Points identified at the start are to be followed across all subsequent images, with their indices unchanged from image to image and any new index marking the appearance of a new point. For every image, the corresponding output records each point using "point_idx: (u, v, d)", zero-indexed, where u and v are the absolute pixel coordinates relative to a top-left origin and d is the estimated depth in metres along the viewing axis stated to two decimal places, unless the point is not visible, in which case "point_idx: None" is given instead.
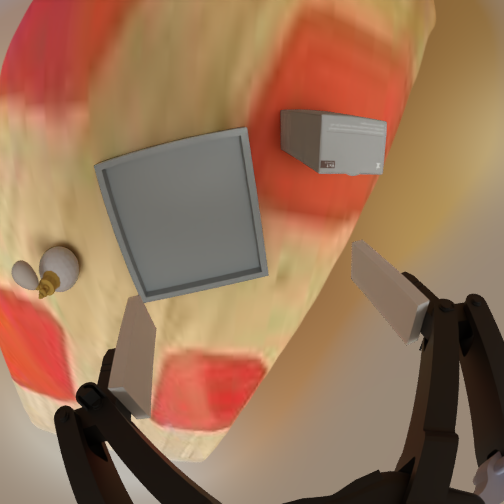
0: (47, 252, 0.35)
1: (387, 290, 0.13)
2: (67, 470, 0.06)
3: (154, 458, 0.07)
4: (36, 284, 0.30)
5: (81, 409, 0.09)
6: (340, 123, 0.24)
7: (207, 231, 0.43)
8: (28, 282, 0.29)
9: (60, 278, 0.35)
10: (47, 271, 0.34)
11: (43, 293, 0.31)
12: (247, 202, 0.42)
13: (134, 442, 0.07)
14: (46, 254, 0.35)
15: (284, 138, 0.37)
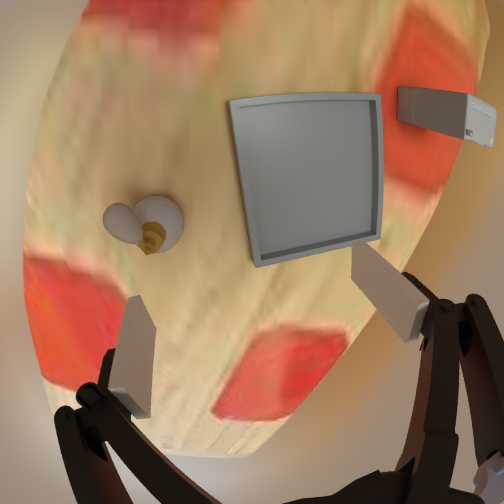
0: (145, 200, 0.32)
1: (387, 290, 0.13)
2: (67, 470, 0.06)
3: (154, 457, 0.07)
4: (141, 235, 0.28)
5: (81, 409, 0.09)
6: (476, 103, 0.22)
7: (333, 189, 0.40)
8: (132, 231, 0.26)
9: (167, 232, 0.32)
10: (150, 223, 0.31)
11: (150, 248, 0.28)
12: (370, 165, 0.39)
13: (134, 442, 0.07)
14: (145, 202, 0.32)
15: (405, 110, 0.34)
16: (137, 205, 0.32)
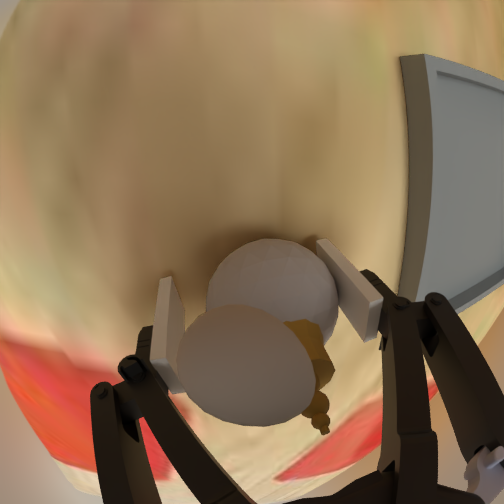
0: (261, 257, 0.13)
1: (345, 287, 0.14)
2: (95, 447, 0.07)
3: (187, 436, 0.07)
4: None
5: (119, 385, 0.10)
6: None
7: (494, 219, 0.21)
8: (304, 403, 0.07)
9: (324, 335, 0.13)
10: (293, 325, 0.12)
11: (326, 409, 0.09)
12: None
13: (170, 419, 0.08)
14: (262, 264, 0.13)
15: None
16: (237, 270, 0.13)
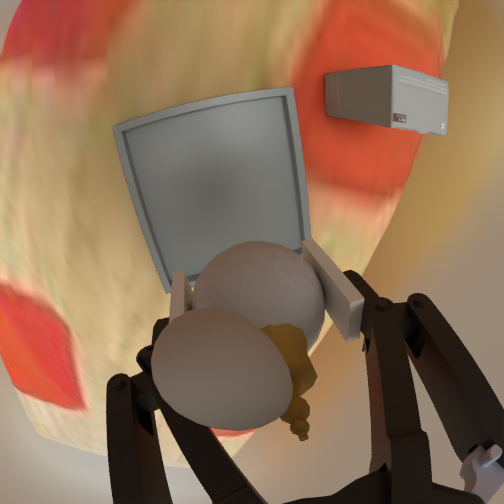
0: (245, 260, 0.13)
1: (328, 287, 0.14)
2: (108, 439, 0.07)
3: (203, 429, 0.08)
4: None
5: (135, 376, 0.11)
6: (409, 76, 0.18)
7: (244, 205, 0.37)
8: (279, 409, 0.07)
9: (309, 340, 0.13)
10: (275, 329, 0.12)
11: (306, 415, 0.09)
12: (290, 172, 0.36)
13: None
14: (247, 267, 0.13)
15: (332, 101, 0.31)
16: (222, 272, 0.13)
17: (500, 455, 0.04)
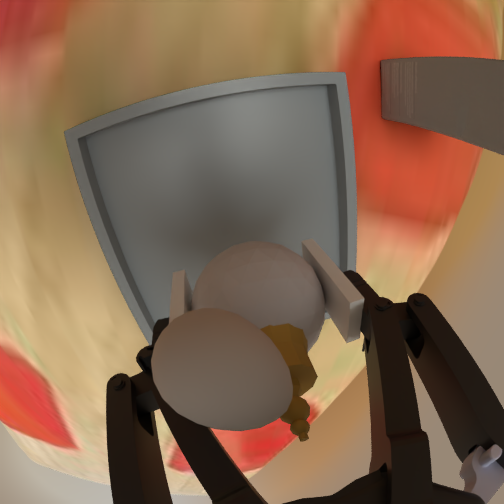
0: (246, 260, 0.13)
1: (328, 287, 0.14)
2: (108, 439, 0.07)
3: (203, 429, 0.08)
4: None
5: (135, 376, 0.11)
6: None
7: None
8: (279, 410, 0.07)
9: (309, 340, 0.13)
10: (276, 329, 0.12)
11: (306, 416, 0.09)
12: (334, 199, 0.24)
13: None
14: (247, 267, 0.13)
15: (396, 100, 0.19)
16: (222, 272, 0.13)
17: (500, 455, 0.04)
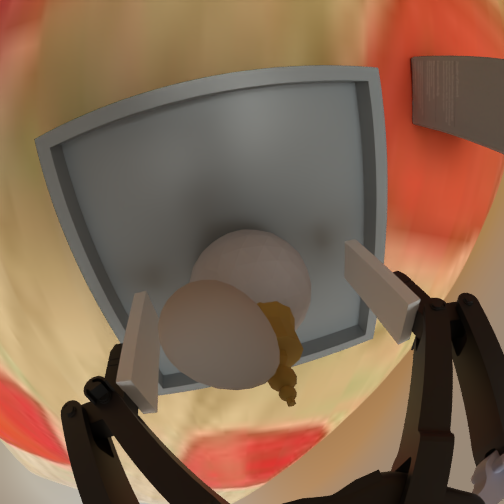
0: (238, 245, 0.15)
1: (379, 289, 0.13)
2: (72, 465, 0.06)
3: (160, 453, 0.07)
4: (278, 364, 0.10)
5: (88, 404, 0.09)
6: None
7: None
8: (267, 369, 0.09)
9: (296, 318, 0.15)
10: (265, 306, 0.13)
11: (293, 383, 0.11)
12: (360, 218, 0.20)
13: (141, 437, 0.07)
14: (239, 251, 0.14)
15: (431, 103, 0.15)
16: (217, 256, 0.15)
17: None
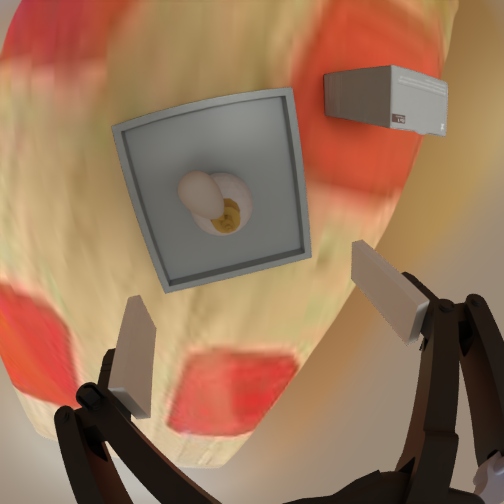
0: (214, 176, 0.30)
1: (387, 290, 0.13)
2: (67, 470, 0.06)
3: (154, 457, 0.07)
4: (223, 210, 0.25)
5: (81, 409, 0.09)
6: (408, 77, 0.18)
7: None
8: (216, 203, 0.24)
9: (241, 211, 0.30)
10: (224, 199, 0.29)
11: (232, 225, 0.26)
12: (289, 173, 0.36)
13: (134, 442, 0.07)
14: (214, 178, 0.30)
15: (331, 102, 0.31)
16: None
17: None
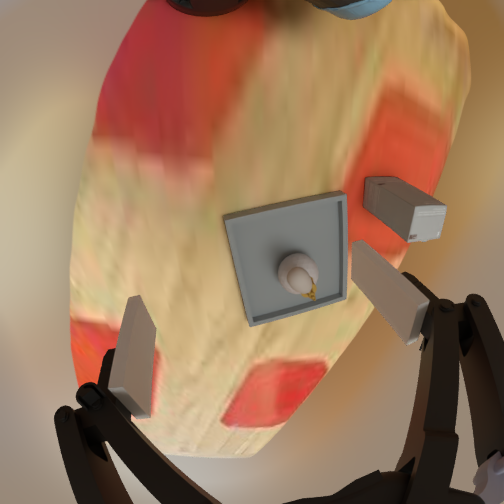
0: (297, 258, 0.48)
1: (387, 290, 0.13)
2: (67, 470, 0.06)
3: (154, 457, 0.07)
4: (311, 288, 0.43)
5: (81, 409, 0.09)
6: (423, 211, 0.36)
7: None
8: (310, 286, 0.42)
9: (314, 281, 0.48)
10: None
11: (314, 295, 0.44)
12: (337, 247, 0.54)
13: (134, 442, 0.07)
14: (298, 260, 0.48)
15: (369, 201, 0.49)
16: (291, 262, 0.48)
17: None
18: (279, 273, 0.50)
